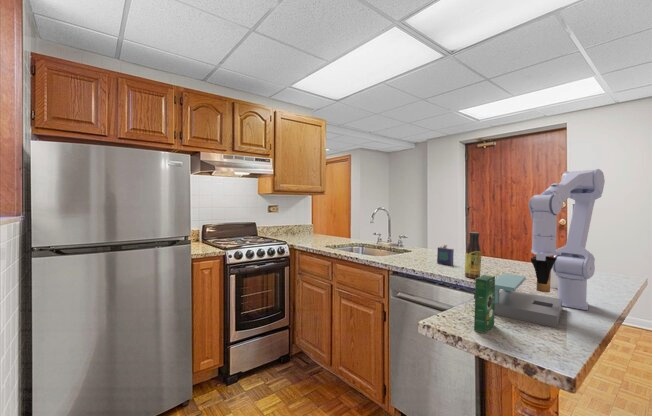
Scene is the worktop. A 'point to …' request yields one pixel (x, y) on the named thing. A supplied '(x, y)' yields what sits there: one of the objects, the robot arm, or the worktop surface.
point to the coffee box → (484, 303)
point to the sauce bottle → (473, 257)
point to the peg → (544, 285)
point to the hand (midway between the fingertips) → (543, 282)
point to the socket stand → (524, 302)
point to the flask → (445, 256)
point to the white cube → (553, 280)
